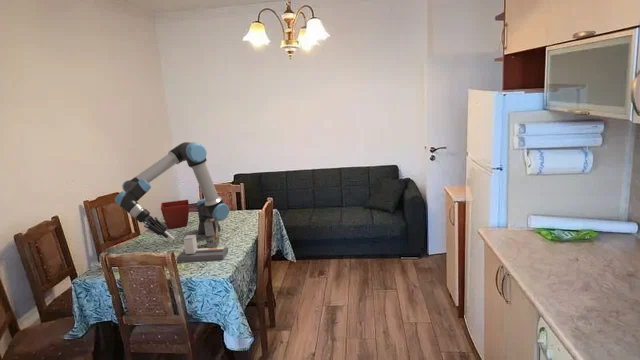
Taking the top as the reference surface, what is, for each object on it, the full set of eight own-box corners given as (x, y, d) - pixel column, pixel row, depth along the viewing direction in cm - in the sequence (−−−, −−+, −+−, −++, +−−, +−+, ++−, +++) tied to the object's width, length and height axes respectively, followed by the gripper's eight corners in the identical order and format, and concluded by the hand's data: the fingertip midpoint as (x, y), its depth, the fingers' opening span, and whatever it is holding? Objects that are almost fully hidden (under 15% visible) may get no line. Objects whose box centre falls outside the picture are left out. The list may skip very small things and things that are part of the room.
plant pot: (191, 220, 323) (188, 199, 320) (191, 227, 305) (188, 204, 302) (164, 224, 317) (161, 202, 314) (163, 231, 299) (160, 208, 296)
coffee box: (217, 246, 258) (214, 221, 255) (206, 247, 258) (203, 222, 254) (219, 242, 267) (216, 217, 264) (209, 243, 267) (206, 218, 263)
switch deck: (177, 262, 237) (176, 256, 237) (184, 254, 249) (184, 249, 248) (223, 259, 236) (222, 254, 235) (228, 252, 248) (227, 246, 247)
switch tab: (185, 254, 239) (183, 238, 237) (189, 250, 245) (187, 235, 243) (194, 253, 239) (192, 238, 237) (197, 249, 245) (195, 234, 243)
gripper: (141, 215, 245) (173, 241, 247) (130, 221, 232) (164, 249, 235) (149, 205, 244) (181, 232, 246) (138, 211, 231) (172, 239, 233)
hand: (172, 240), depth 240 cm, fingers closed
